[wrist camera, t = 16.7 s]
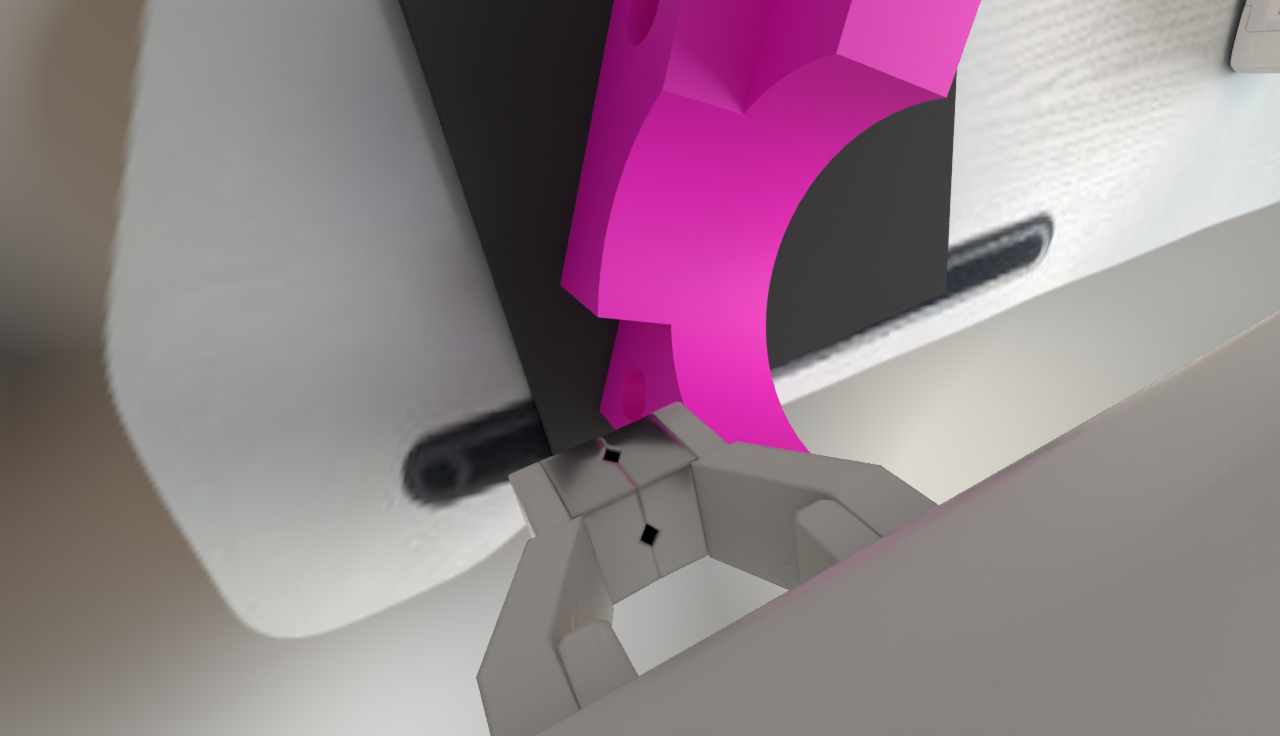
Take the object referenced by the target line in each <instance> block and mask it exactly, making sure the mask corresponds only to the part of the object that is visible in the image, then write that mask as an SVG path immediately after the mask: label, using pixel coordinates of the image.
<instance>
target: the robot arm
mask: <svg viewBox="0 0 1280 736" xmlns="http://www.w3.org/2000/svg"><path fill="white" fill-rule="evenodd" d="M508 476H509V480H510V483H511V486H512V488H513V491H514V493H515V496H516V499H517V501H518V504H519V506H520V509H521V511H522V514H523V517H524V519H525V522H526V524H527V527H528V530H529V532H530V534H531V537H532V539H530V540H528V541H527V543H526V545H525V548H524V551H523V553H522V556H521V559H520V561H519V564H518V567H517V570H516V572H515V575H514V578H513V580H512V583H511V586H510V589H509V591H508V594H507V597H506V599H505V602H504V605H503V607H502V610H501V613H500V615H499V618H498V621H497V623H496V626H495V629H494V631H493V634H492V637H491V639H490V642H489V645H488V647H487V650H486V653H485V655H484V658H483V661H482V663H481V666H480V669H479V671H478V674H477V677H476V678H477V682H478V686H479V690H480V694H481V698H482V702H483V706H484V710H485V715H486V718H487V722H488V727H489V731H490V735H491V736H1280V311H1278V312H1277V313H1275V314H1273V315H1271V316H1270V317H1268V318H1266V319H1264V320H1263V321H1261V322H1259V323H1257V324H1256V325H1254V326H1252V327H1251V328H1249V329H1247V330H1245V331H1243V332H1242V333H1240V334H1238V335H1236V336H1235V337H1233V338H1231V339H1229V340H1228V341H1226V342H1224V343H1222V344H1221V345H1219V346H1217V347H1215V348H1214V349H1212V350H1210V351H1208V352H1207V353H1205V354H1203V355H1202V356H1200V357H1198V358H1196V359H1194V360H1193V361H1191V362H1189V363H1187V364H1186V365H1184V366H1182V367H1180V368H1179V369H1177V370H1175V371H1173V372H1172V373H1170V374H1168V375H1166V376H1164V377H1163V378H1161V379H1159V380H1158V381H1156V382H1154V383H1152V384H1150V385H1149V386H1147V387H1145V388H1143V389H1142V390H1140V391H1138V392H1137V393H1135V394H1133V395H1131V396H1129V397H1128V398H1126V399H1124V400H1123V401H1121V402H1119V403H1117V404H1116V405H1114V406H1112V407H1110V408H1108V409H1107V410H1105V411H1103V412H1101V413H1100V414H1098V415H1096V416H1094V417H1093V418H1091V419H1089V420H1087V421H1086V422H1084V423H1082V424H1080V425H1079V426H1077V427H1075V428H1073V429H1072V430H1070V431H1068V432H1067V433H1065V434H1063V435H1061V436H1059V437H1058V438H1056V439H1054V440H1052V441H1051V442H1049V443H1047V444H1045V445H1044V446H1042V447H1040V448H1038V449H1037V450H1035V451H1033V452H1031V453H1030V454H1028V455H1026V456H1024V457H1023V458H1021V459H1019V460H1018V461H1016V462H1014V463H1012V464H1010V465H1009V466H1007V467H1006V468H1004V469H1002V470H1000V471H998V472H997V473H995V474H993V475H991V476H990V477H988V478H986V479H984V480H983V481H981V482H979V483H977V484H976V485H974V486H972V487H971V488H969V489H967V490H965V491H963V492H962V493H960V494H958V495H956V496H955V497H953V498H951V499H949V500H948V501H946V502H944V503H942V504H941V505H937V504H936V503H935V502H933V501H932V500H930V499H929V498H927V497H926V496H925V495H923V494H922V493H920V492H919V491H917V490H916V489H914V488H913V487H911V486H910V485H908V484H907V483H906V482H904V481H903V480H901V479H900V478H898V477H897V476H895V475H894V474H892V473H891V472H889V471H888V470H886V469H885V468H884V467H882V466H881V465H875V464H869V463H863V462H857V461H851V460H845V459H839V458H833V457H828V456H822V455H816V454H810V453H804V452H798V451H792V450H786V449H780V448H774V447H768V446H762V445H756V444H750V443H745V442H739V441H737V442H734V443H732V444H730V445H729V444H728V443H727V442H726V441H725V440H723V439H722V438H721V437H720V436H719V435H718V434H717V433H715V432H714V431H713V430H712V429H711V428H710V427H709V426H707V425H706V424H705V423H704V422H703V421H702V420H700V419H699V418H698V417H697V416H696V415H695V414H694V413H692V412H691V411H690V410H689V409H688V408H687V407H685V406H684V405H683V404H682V403H681V402H676V401H675V402H673V403H671V404H669V405H667V406H665V407H663V408H661V409H659V410H656V411H654V412H652V413H650V415H647V416H645V417H643V418H641V419H639V420H636V421H634V422H632V423H630V424H628V425H625V426H623V427H621V428H619V429H617V430H615V431H612V432H610V433H608V434H606V435H604V436H601V437H599V438H595V439H593V440H590V441H588V442H585V443H583V444H581V445H578V446H576V447H573V448H571V449H569V450H566V451H564V452H561V453H559V454H556V455H554V456H552V457H549V458H547V459H544V460H542V461H540V462H539V463H538V462H537V463H535V464H532V465H530V466H528V467H526V468H523V469H521V470H519V471H516V472H514V473H512V474H510V475H508ZM707 555H710V557H711V558H714V559H716V560H718V561H721V562H723V563H726V564H728V565H730V566H733V567H735V568H738V569H740V570H743V571H745V572H747V573H750V574H752V575H754V576H757V577H759V578H761V579H764V580H766V581H769V582H771V583H774V584H776V585H778V586H781V587H783V588H785V589H788V590H789V591H787V592H786V593H784V594H782V595H780V596H779V597H777V598H775V599H773V600H772V601H770V602H768V603H767V604H765V605H763V606H761V607H760V608H758V609H756V610H754V611H752V612H751V613H749V614H747V615H745V616H744V617H742V618H740V619H738V620H737V621H735V622H733V623H731V624H730V625H728V626H727V627H724V628H723V629H721V630H719V631H717V632H716V633H714V634H713V635H711V636H709V637H707V638H705V639H704V640H702V641H700V642H698V643H697V644H695V645H693V646H692V647H690V648H688V649H686V650H684V651H682V652H681V653H679V654H677V655H676V656H674V657H672V658H670V659H669V660H667V661H665V662H663V663H662V664H660V665H658V666H656V667H655V668H653V669H651V670H649V671H647V672H646V673H644V674H642V675H641V676H638V674H637V673H636V671H635V669H634V667H633V665H632V663H631V662H630V660H629V658H628V656H627V654H626V653H625V650H624V649H623V647H622V645H621V643H620V641H619V640H618V638H617V636H616V634H615V632H614V630H613V629H612V627H611V626H612V619H613V605H614V604H616V603H618V602H619V601H621V600H623V599H625V598H627V597H628V596H630V595H632V594H634V593H635V592H637V591H639V590H641V589H643V588H644V587H646V586H648V585H650V584H652V583H653V582H655V581H657V580H659V579H660V578H663V577H664V576H667V575H669V574H671V573H673V572H674V571H677V570H679V569H681V568H683V567H685V566H687V565H689V564H691V563H693V562H695V561H697V560H699V559H701V558H703V557H705V556H707Z"/></svg>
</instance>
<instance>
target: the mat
mask: <svg viewBox="0 0 1280 736" xmlns="http://www.w3.org/2000/svg"><path fill="white" fill-rule="evenodd" d="M399 1H400V4H401V7H402V10H403V13H404V16H405V19H406V22H407V25H408V28H409V31H410V34H411V37H412V40H413V43H414V46H415V49H416V52H417V55H418V58H419V61H420V64H421V67H422V70H423V73H424V76H425V78H426V81H427V84H428V87H429V90H430V93H431V96H432V99H433V102H434V105H435V108H436V111H437V114H438V117H439V120H440V123H441V126H442V129H443V132H444V135H445V138H446V141H447V144H448V147H449V150H450V153H451V156H452V159H453V162H454V165H455V168H456V171H457V174H458V176H459V179H460V182H461V185H462V188H463V191H464V194H465V197H466V200H467V203H468V206H469V209H470V212H471V215H472V218H473V221H474V224H475V227H476V230H477V233H478V236H479V239H480V242H481V245H482V248H483V251H484V254H485V257H486V260H487V263H488V266H489V269H490V272H491V274H492V277H493V280H494V283H495V286H496V289H497V292H498V295H499V298H500V301H501V304H502V307H503V310H504V313H505V316H506V319H507V322H508V325H509V328H510V331H511V334H512V337H513V340H514V343H515V346H516V349H517V352H518V355H519V358H520V361H521V364H522V367H523V370H524V372H525V375H526V378H527V381H528V384H529V387H530V390H531V393H532V396H533V399H534V402H535V405H536V408H537V411H538V414H539V417H540V420H541V423H542V426H543V429H544V432H545V435H546V438H547V441H548V444H549V447H550V450H551V453H552V456H554V455H556V454H559V453H561V452H564V451H566V450H569V449H571V448H573V447H576V446H578V445H581V444H583V443H585V442H588V441H590V440H593V439H595V438H599V437H601V436H604V435H606V434H608V433H610V432H612V431H615V429H614V428H613V426H612V425H611V424H610V423H609V422H608V420H607V419H606V418H605V417H604V416H603V414H602V413H601V412H600V406H601V402H602V397H603V393H604V388H605V384H606V379H607V375H608V371H609V366H610V362H611V357H612V353H613V348H614V344H615V339H616V335H617V330H618V326H619V321H620V319H611V318H601V317H597V316H596V315H595V314H594V313H592V312H591V311H590V310H589V309H588V308H587V307H585V306H584V305H583V304H582V303H581V302H580V301H578V300H577V299H576V298H575V297H574V296H573V295H571V294H570V293H569V292H568V291H567V290H565V289H564V288H563V287H562V286H561V285H560V283H561V278H562V273H563V267H564V262H565V257H566V251H567V246H568V241H569V235H570V230H571V225H572V220H573V214H574V209H575V204H576V198H577V193H578V188H579V183H580V177H581V172H582V167H583V161H584V156H585V151H586V146H587V140H588V135H589V130H590V124H591V119H592V114H593V109H594V103H595V98H596V93H597V87H598V82H599V77H600V72H601V66H602V61H603V56H604V50H605V45H606V40H607V35H608V29H609V24H610V19H611V13H612V8H613V3H614V0H399ZM956 75H957V70H956V72H955V75H954V78H953V81H952V84H951V87H950V89H949V92H948V95H947V98H941V99H936V100H930V101H926V102H922V103H919V104H916V105H913V106H909V107H907V108H905V109H902V110H900V111H898V112H895V113H893V114H891V115H889V116H887V117H885V118H884V119H882V120H880V121H878V122H876V123H875V124H873V125H872V126H870V127H869V128H867V129H866V130H864V131H863V132H862V133H860V134H859V135H858V136H856V137H855V138H854V139H853V140H852V141H850V142H849V143H848V144H847V145H845V146H844V147H843V148H842V149H841V150H840V151H839V152H838V153H837V154H836V155H835V156H834V157H833V158H832V159H831V160H830V162H829V163H828V164H827V165H826V166H825V167H824V168H823V170H822V171H821V172H820V173H819V175H818V176H817V177H816V179H815V180H814V181H813V183H812V184H811V185H810V187H809V188H808V190H807V191H806V193H805V195H804V196H803V198H802V199H801V201H800V203H799V204H798V206H797V208H796V210H795V212H794V214H793V216H792V217H791V220H790V222H789V224H788V226H787V229H786V231H785V233H784V236H783V238H782V241H781V244H780V246H779V249H778V252H777V256H776V259H775V262H774V266H773V270H772V275H771V279H770V284H769V291H768V297H767V308H766V345H767V354H768V362H769V367H770V369H772V368H775V367H777V366H779V365H782V364H784V363H786V362H788V361H791V360H793V359H795V358H797V357H800V356H802V355H804V354H806V353H809V352H811V351H813V350H815V349H818V348H820V347H822V346H824V345H827V344H829V343H831V342H833V341H836V340H838V339H840V338H843V337H845V336H847V335H849V334H852V333H854V332H856V331H858V330H861V329H863V328H865V327H867V326H870V325H872V324H874V323H876V322H879V321H881V320H883V319H885V318H888V317H890V316H892V315H894V314H897V313H899V312H901V311H903V310H906V309H908V308H910V307H913V306H915V305H917V304H919V303H922V302H924V301H926V300H928V299H931V298H933V297H935V296H937V295H940V294H942V293H944V292H946V279H947V258H948V238H949V218H950V197H951V177H952V156H953V136H954V116H955V95H956Z"/></svg>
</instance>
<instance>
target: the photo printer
mask: <svg viewBox="0 0 1280 736" xmlns="http://www.w3.org/2000/svg"><path fill="white" fill-rule="evenodd" d="M1230 65H1231V67H1232V68H1233V69H1234V70H1235V71H1237V72H1239V73H1280V0H1246V4H1245V7H1244V9H1243V13H1242V16H1241V20H1240V24H1239V27H1238V31H1237V35H1236V38H1235V42H1234V47H1233V51H1232V56H1231V62H1230Z"/></svg>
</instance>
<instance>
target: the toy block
mask: <svg viewBox="0 0 1280 736" xmlns="http://www.w3.org/2000/svg"><path fill="white" fill-rule="evenodd" d="M980 2H981V0H614V3H613V8H612V13H611V19H610V24H609V29H608V35H607V40H606V45H605V50H604V56H603V61H602V66H601V72H600V77H599V82H598V87H597V93H596V98H595V103H594V109H593V114H592V119H591V124H590V130H589V135H588V140H587V146H586V151H585V156H584V161H583V167H582V172H581V177H580V183H579V188H578V193H577V198H576V204H575V209H574V214H573V220H572V225H571V230H570V235H569V241H568V246H567V251H566V257H565V262H564V267H563V273H562V278H561V283H560V285H561V286H562V287H563V288H564V289H565V290H567V291H568V292H569V293H570V294H571V295H573V296H574V297H575V298H576V299H577V300H578V301H580V302H581V303H582V304H583V305H584V306H585V307H587V308H588V309H589V310H590V311H591V312H592V313H594V314H595V315H596V316H597V317H601V318H611V319H620V321H619V326H618V330H617V335H616V339H615V344H614V348H613V353H612V357H611V362H610V366H609V371H608V375H607V379H606V384H605V388H604V393H603V397H602V402H601V406H600V412H601V413H602V414H603V416H604V417H605V418H606V419H607V420H608V422H609V423H610V424H611V425H612V426H613V428H614V429H615V430H617V429H619V428H621V427H623V426H625V425H628V424H630V423H632V422H634V421H636V420H639V419H641V418H643V417H645V416H647V415H650V413H652V412H654V411H656V410H659V409H661V408H663V407H665V406H667V405H669V404H671V403H673V402H675V401H676V402H681V403H682V404H683V405H684V406H685V407H687V408H688V409H689V410H690V411H691V412H692V413H694V414H695V415H696V416H697V417H698V418H699V419H700V420H702V421H703V422H704V423H705V424H706V425H707V426H709V427H710V428H711V429H712V430H713V431H714V432H715V433H717V434H718V435H719V436H720V437H721V438H722V439H723V440H725V441H726V442H727V443H728V444H729V445H730V444H732V443H734V442H737V441H739V442H745V443H750V444H756V445H762V446H768V447H774V448H780V449H786V450H792V451H798V452H804V453H810V452H809V451H808V450H807V449H806V447H805V446H804V445H803V443H802V442H801V441H800V439H799V438H798V437H797V435H796V433H795V432H794V430H793V429H792V427H791V425H790V424H789V422H788V420H787V418H786V416H785V414H784V412H783V410H782V407H781V404H780V402H779V399H778V397H777V394H776V391H775V387H774V384H773V381H772V376H771V372H770V367H769V362H768V354H767V345H766V308H767V297H768V291H769V284H770V279H771V275H772V270H773V266H774V262H775V259H776V256H777V252H778V249H779V246H780V244H781V241H782V238H783V236H784V233H785V231H786V229H787V226H788V224H789V222H790V220H791V217H792V216H793V214H794V212H795V210H796V208H797V206H798V204H799V203H800V201H801V199H802V198H803V196H804V195H805V193H806V191H807V190H808V188H809V187H810V185H811V184H812V183H813V181H814V180H815V179H816V177H817V176H818V175H819V173H820V172H821V171H822V170H823V168H824V167H825V166H826V165H827V164H828V163H829V162H830V160H831V159H832V158H833V157H834V156H835V155H836V154H837V153H838V152H839V151H840V150H841V149H842V148H843V147H844V146H845V145H847V144H848V143H849V142H850V141H852V140H853V139H854V138H855V137H856V136H858V135H859V134H860V133H862V132H863V131H864V130H866V129H867V128H869V127H870V126H872V125H873V124H875V123H876V122H878V121H880V120H882V119H884V118H885V117H887V116H889V115H891V114H893V113H895V112H898V111H900V110H902V109H905V108H907V107H909V106H913V105H916V104H919V103H922V102H926V101H930V100H936V99H941V98H947V95H948V92H949V89H950V87H951V84H952V81H953V78H954V75H955V72H956V70H957V67H958V64H959V61H960V58H961V55H962V53H963V50H964V47H965V44H966V41H967V38H968V36H969V33H970V30H971V27H972V24H973V21H974V19H975V16H976V13H977V10H978V7H979V4H980ZM810 454H811V453H810Z"/></svg>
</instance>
